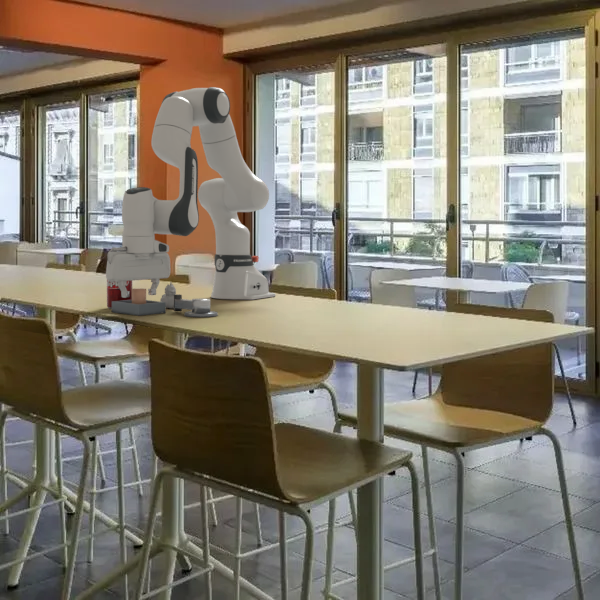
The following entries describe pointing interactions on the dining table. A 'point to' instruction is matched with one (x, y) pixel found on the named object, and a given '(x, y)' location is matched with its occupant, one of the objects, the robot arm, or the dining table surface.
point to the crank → (191, 304)
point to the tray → (138, 307)
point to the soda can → (117, 292)
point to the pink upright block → (139, 296)
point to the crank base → (201, 314)
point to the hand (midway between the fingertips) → (139, 296)
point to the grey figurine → (169, 296)
